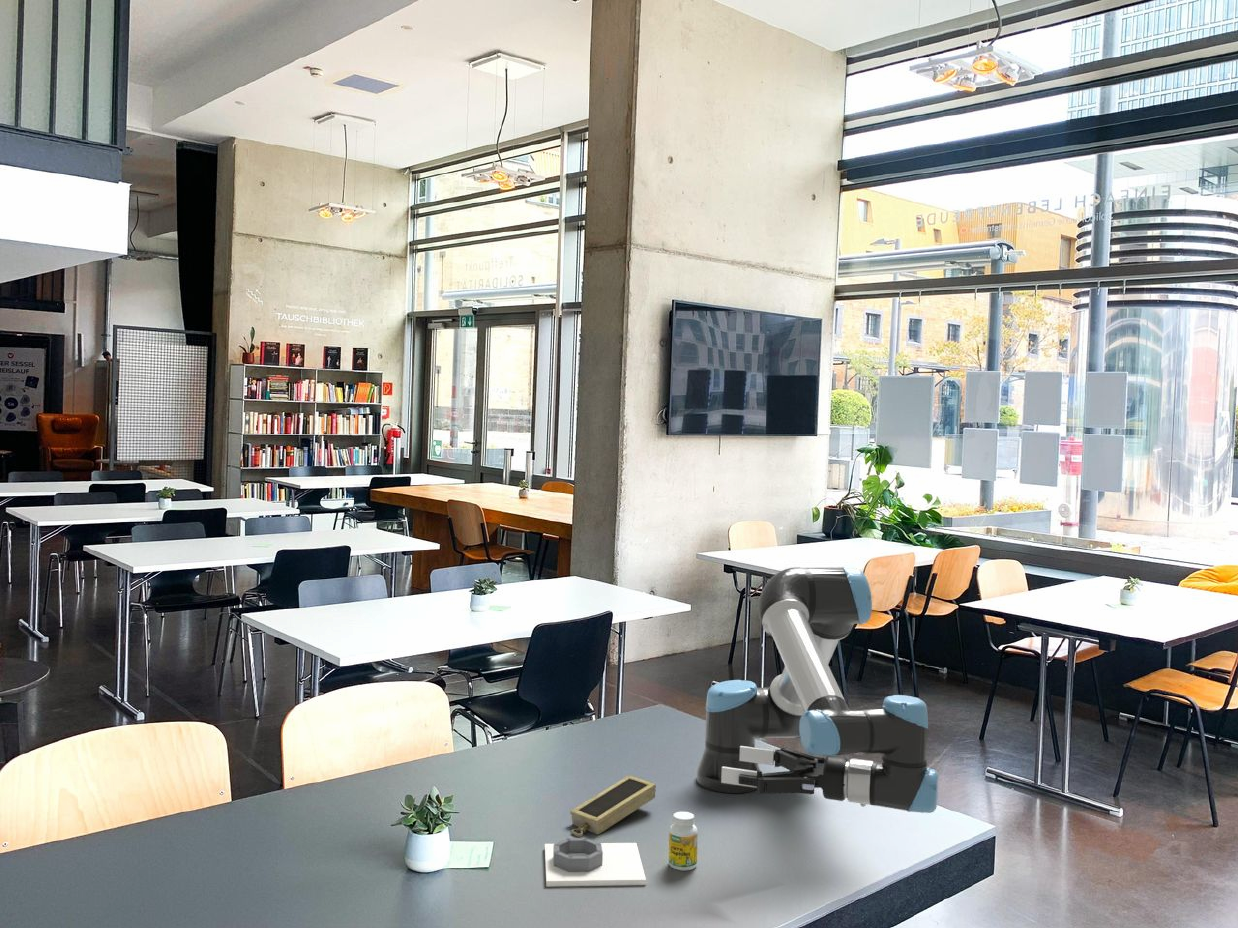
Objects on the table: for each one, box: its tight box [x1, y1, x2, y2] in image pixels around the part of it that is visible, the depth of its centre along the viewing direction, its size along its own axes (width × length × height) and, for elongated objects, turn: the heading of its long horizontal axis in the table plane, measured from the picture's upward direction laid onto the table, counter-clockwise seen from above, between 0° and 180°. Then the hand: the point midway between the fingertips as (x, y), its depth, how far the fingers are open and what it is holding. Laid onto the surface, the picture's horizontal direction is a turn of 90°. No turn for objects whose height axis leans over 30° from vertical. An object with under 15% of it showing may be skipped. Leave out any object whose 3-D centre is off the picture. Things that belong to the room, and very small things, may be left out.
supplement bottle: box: [668, 811, 699, 872], centre depth 187 cm, size 5×5×10 cm
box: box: [569, 775, 657, 838], centre depth 208 cm, size 8×22×5 cm, turn 139°
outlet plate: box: [544, 837, 647, 888], centre depth 185 cm, size 18×16×4 cm
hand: (731, 763), depth 183 cm, fingers open, 13 cm apart
